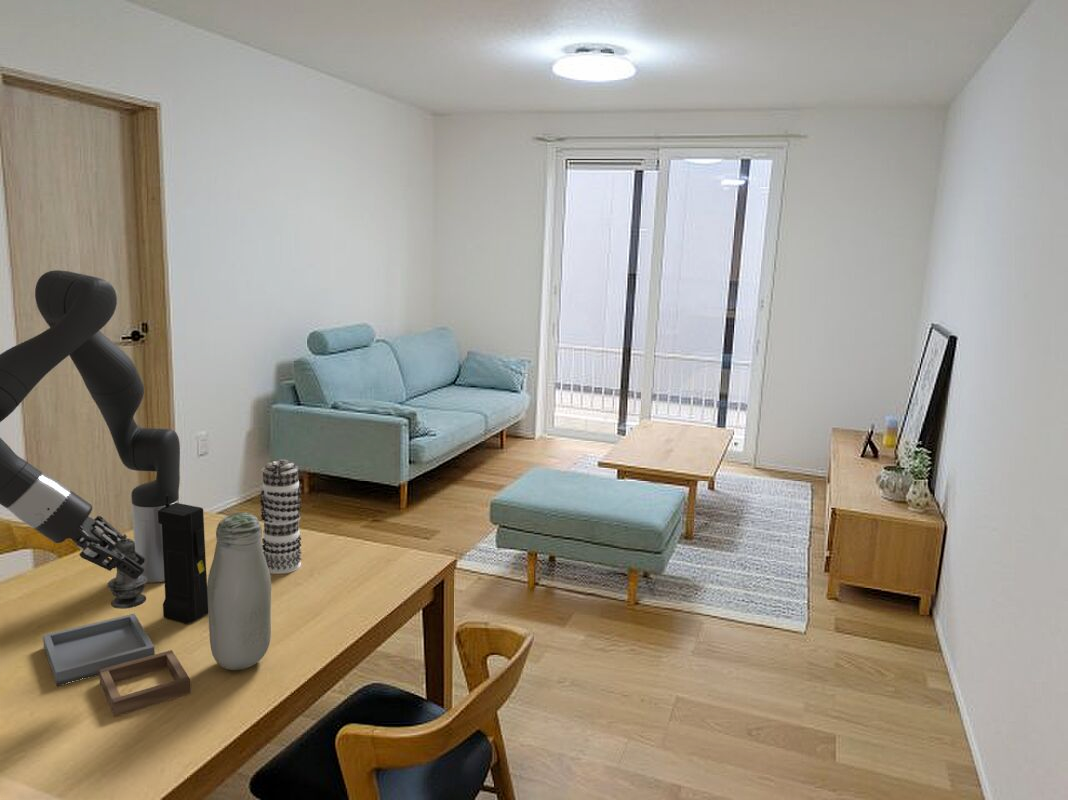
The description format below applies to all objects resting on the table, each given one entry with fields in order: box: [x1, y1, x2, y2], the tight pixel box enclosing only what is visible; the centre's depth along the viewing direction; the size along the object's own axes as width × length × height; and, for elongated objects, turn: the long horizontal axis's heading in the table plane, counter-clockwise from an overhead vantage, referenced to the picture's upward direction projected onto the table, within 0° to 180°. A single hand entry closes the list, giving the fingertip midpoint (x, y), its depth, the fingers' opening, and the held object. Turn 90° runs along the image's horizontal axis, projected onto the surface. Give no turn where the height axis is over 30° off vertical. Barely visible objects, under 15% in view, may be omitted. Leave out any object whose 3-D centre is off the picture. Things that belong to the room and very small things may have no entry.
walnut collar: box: [98, 649, 192, 718], centre depth 128 cm, size 11×11×2 cm
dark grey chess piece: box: [107, 533, 148, 610], centre depth 128 cm, size 6×6×12 cm
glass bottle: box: [207, 512, 272, 671], centre depth 134 cm, size 10×10×28 cm
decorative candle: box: [259, 459, 303, 575], centre depth 176 cm, size 9×9×25 cm
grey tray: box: [42, 613, 155, 687], centre depth 138 cm, size 15×15×2 cm
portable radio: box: [158, 495, 208, 625], centre depth 151 cm, size 8×6×25 cm
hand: (140, 569), depth 129 cm, fingers closed on dark grey chess piece, 3 cm apart
